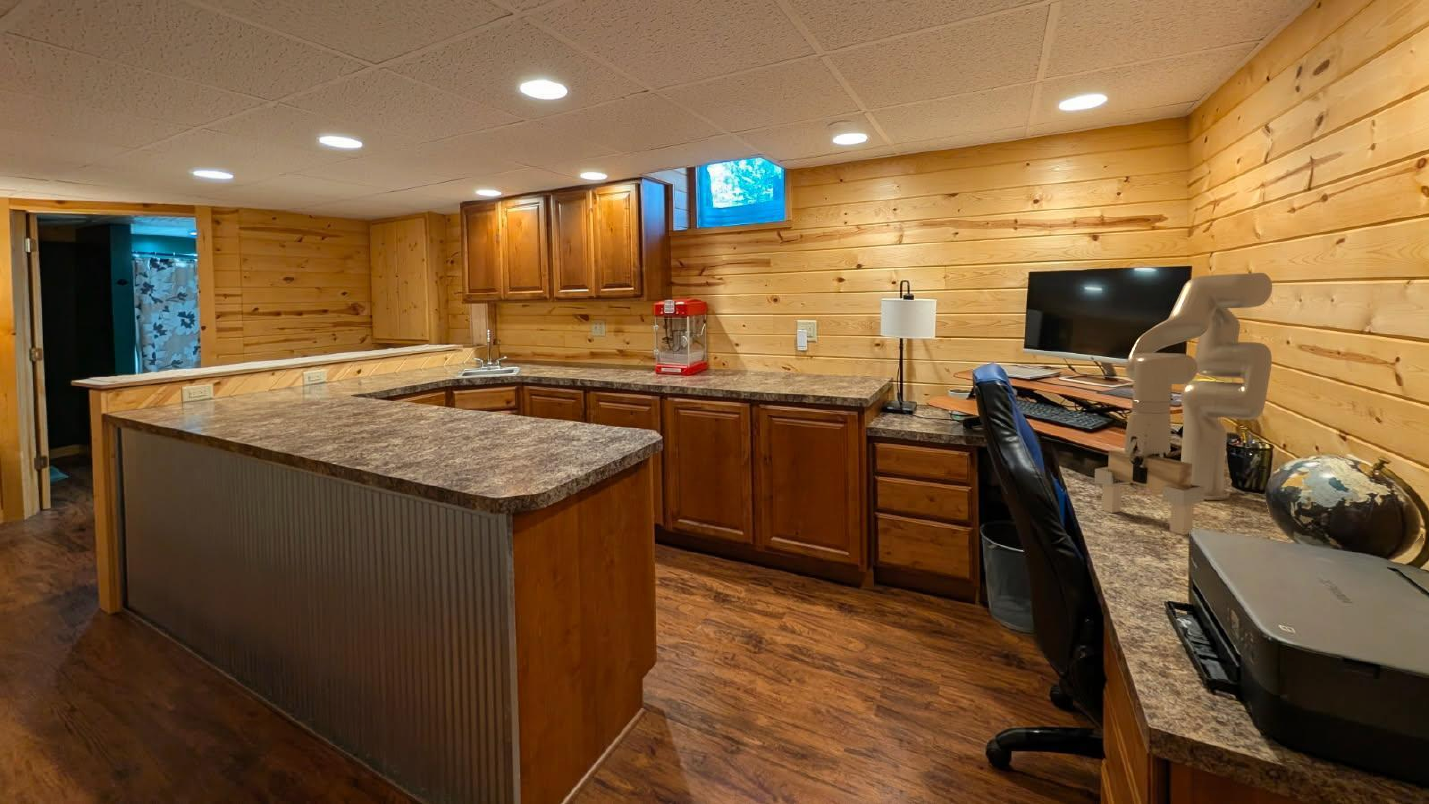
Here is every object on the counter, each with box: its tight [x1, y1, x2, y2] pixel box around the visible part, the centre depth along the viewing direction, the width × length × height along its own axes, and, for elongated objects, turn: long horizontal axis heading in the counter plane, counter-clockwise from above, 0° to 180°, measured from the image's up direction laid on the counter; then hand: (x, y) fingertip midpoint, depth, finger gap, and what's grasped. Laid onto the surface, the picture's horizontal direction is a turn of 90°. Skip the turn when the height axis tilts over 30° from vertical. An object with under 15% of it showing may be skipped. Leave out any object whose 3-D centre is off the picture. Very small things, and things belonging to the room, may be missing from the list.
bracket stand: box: [1094, 466, 1205, 536], centre depth 151 cm, size 7×22×11 cm, turn 19°
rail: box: [1107, 448, 1192, 492], centre depth 150 cm, size 4×18×7 cm, turn 16°
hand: (1146, 480), depth 151 cm, fingers closed on rail, 4 cm apart
